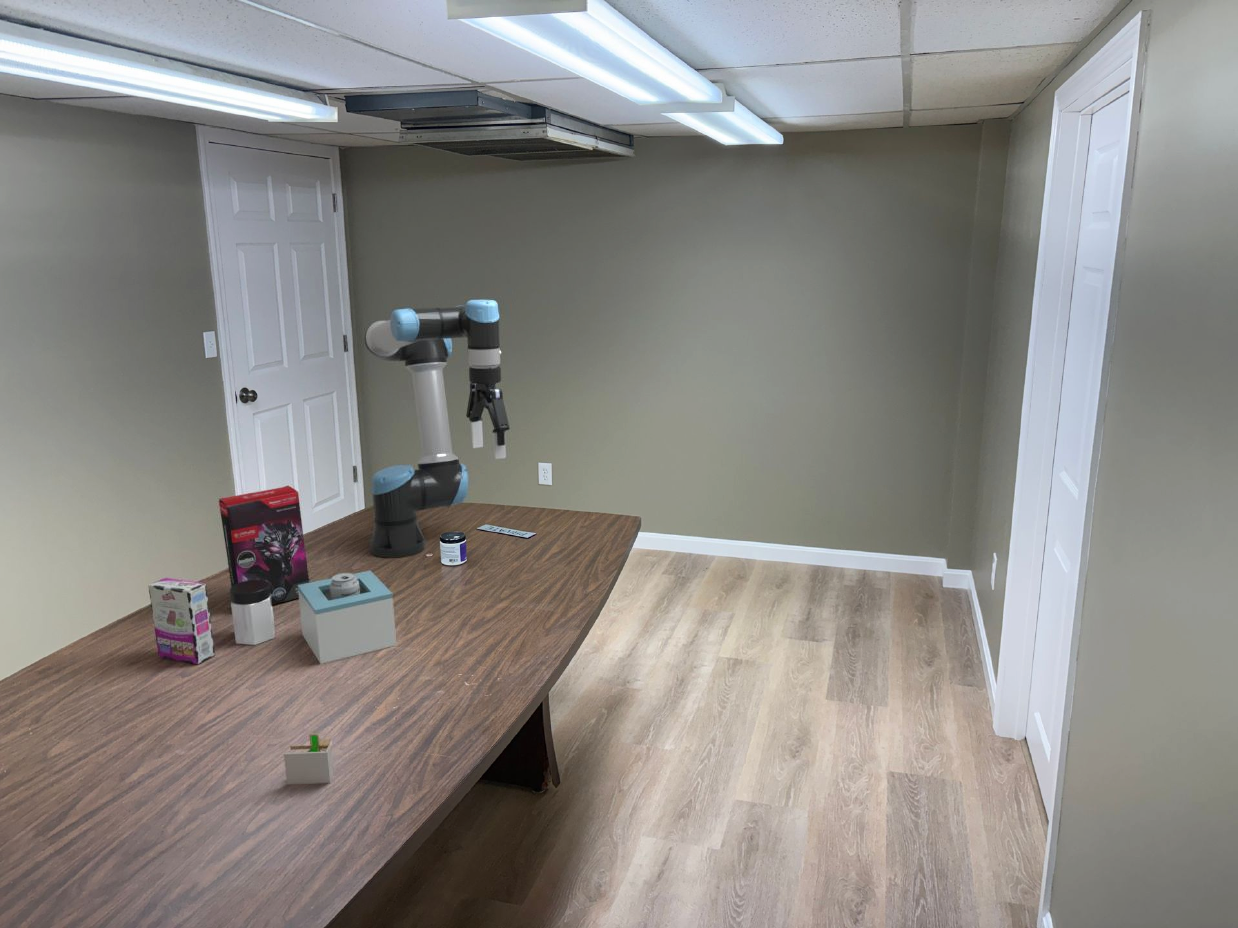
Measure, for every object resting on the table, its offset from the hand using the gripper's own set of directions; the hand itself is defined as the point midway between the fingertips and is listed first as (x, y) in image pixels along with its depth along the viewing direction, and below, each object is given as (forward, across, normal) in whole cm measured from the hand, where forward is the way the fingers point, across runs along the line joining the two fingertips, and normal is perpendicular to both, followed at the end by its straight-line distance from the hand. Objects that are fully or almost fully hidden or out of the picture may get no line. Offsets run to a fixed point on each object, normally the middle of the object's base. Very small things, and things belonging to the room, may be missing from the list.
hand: (488, 452), depth 213 cm
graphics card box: (+35, +20, +50) cm, 64 cm away
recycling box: (+35, -12, +40) cm, 54 cm away
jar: (+35, +1, +57) cm, 67 cm away
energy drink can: (+35, -13, +40) cm, 54 cm away
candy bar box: (+35, -1, +71) cm, 79 cm away
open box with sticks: (+35, -60, +59) cm, 91 cm away
